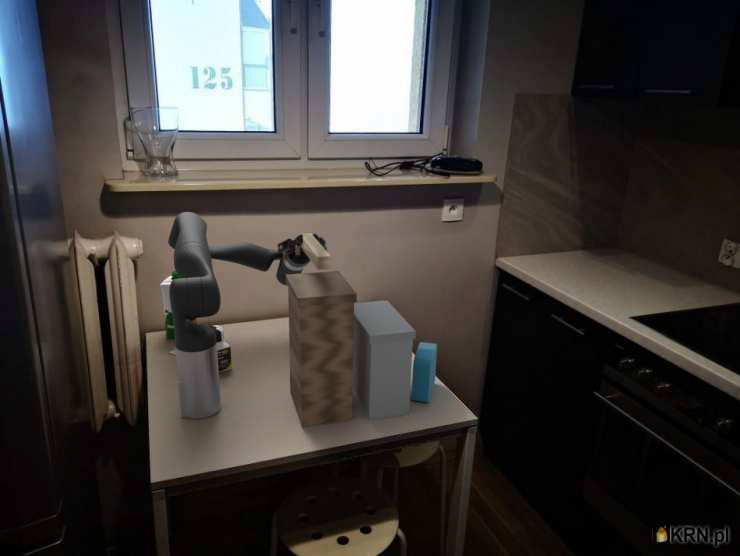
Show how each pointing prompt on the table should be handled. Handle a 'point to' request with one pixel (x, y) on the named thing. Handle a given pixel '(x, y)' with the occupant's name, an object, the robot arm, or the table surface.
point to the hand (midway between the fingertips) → (308, 237)
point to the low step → (382, 359)
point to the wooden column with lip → (321, 346)
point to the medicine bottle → (222, 349)
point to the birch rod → (316, 252)
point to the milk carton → (168, 305)
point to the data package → (424, 372)
